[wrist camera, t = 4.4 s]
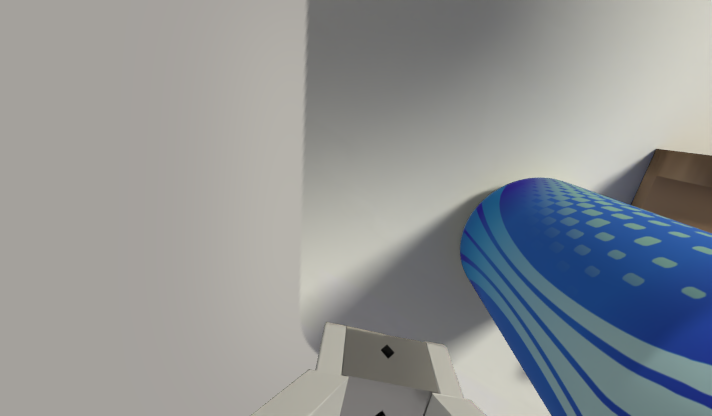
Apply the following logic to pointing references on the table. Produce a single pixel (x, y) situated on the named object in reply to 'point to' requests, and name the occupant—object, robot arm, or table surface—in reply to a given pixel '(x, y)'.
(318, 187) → the table surface
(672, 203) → the open box
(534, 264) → the beer can
